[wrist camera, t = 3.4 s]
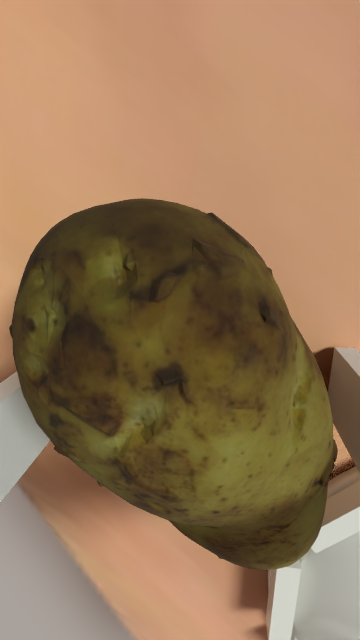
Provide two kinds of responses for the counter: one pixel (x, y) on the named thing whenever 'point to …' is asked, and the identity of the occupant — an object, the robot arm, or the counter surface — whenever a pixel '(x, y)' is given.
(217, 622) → the counter surface
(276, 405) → the potato
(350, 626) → the plate
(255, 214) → the counter surface
